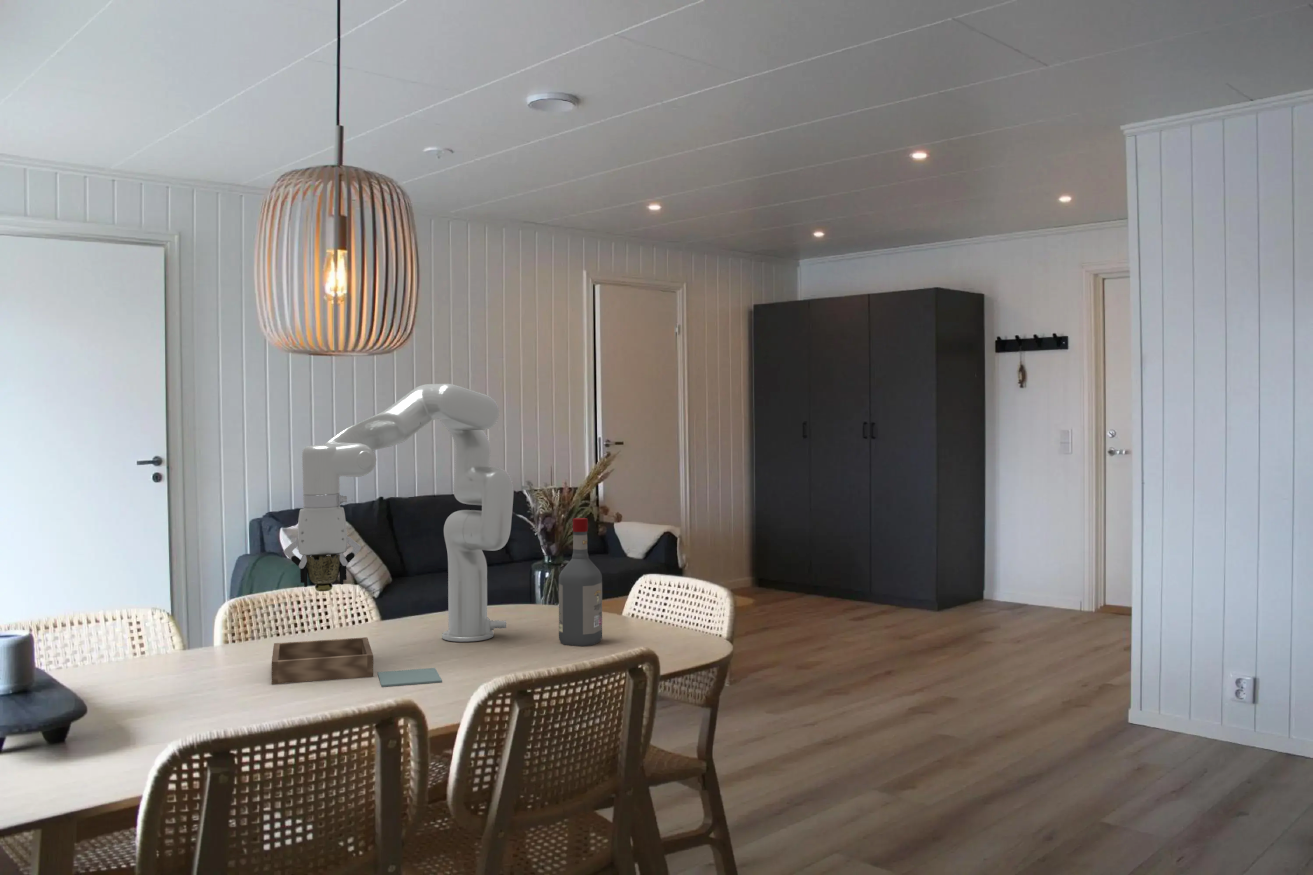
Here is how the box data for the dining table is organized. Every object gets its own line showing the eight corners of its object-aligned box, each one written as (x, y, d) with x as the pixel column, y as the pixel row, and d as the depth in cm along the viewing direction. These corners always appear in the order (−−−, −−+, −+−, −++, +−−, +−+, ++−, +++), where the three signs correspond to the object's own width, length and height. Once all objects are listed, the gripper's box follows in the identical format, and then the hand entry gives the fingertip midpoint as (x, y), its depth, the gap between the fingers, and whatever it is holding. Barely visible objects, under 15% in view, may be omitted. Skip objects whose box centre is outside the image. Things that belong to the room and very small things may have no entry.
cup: (347, 587, 231) (346, 551, 231) (333, 593, 224) (332, 555, 223) (314, 587, 232) (313, 551, 232) (299, 593, 224) (299, 556, 224)
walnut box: (367, 656, 240) (367, 637, 240) (373, 676, 221) (373, 654, 221) (274, 663, 234) (273, 643, 234) (271, 684, 215) (271, 661, 215)
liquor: (605, 639, 259) (604, 517, 259) (590, 647, 250) (589, 520, 250) (571, 637, 262) (570, 516, 262) (555, 644, 253) (555, 519, 253)
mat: (435, 669, 227) (435, 667, 227) (442, 682, 216) (442, 680, 216) (377, 673, 223) (377, 671, 223) (381, 686, 212) (381, 684, 212)
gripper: (362, 499, 234) (364, 579, 234) (279, 502, 228) (281, 584, 228) (364, 501, 226) (366, 584, 227) (278, 505, 221) (280, 590, 221)
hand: (323, 584), depth 228 cm, fingers closed on cup, 6 cm apart
